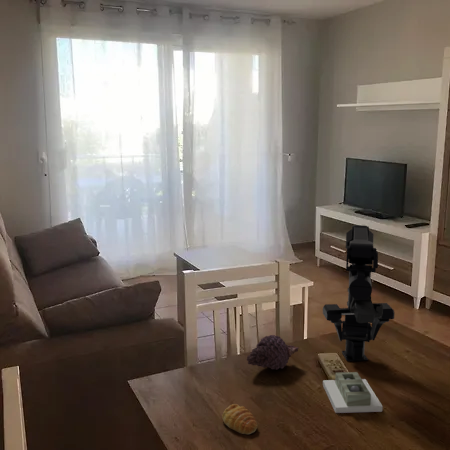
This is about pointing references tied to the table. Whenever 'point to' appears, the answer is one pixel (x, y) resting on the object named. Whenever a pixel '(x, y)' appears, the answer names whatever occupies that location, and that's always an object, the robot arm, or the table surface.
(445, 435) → the table surface
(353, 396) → the bar
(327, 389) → the post board
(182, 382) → the table surface
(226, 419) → the pastry
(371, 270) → the robot arm
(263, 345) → the pine cone
